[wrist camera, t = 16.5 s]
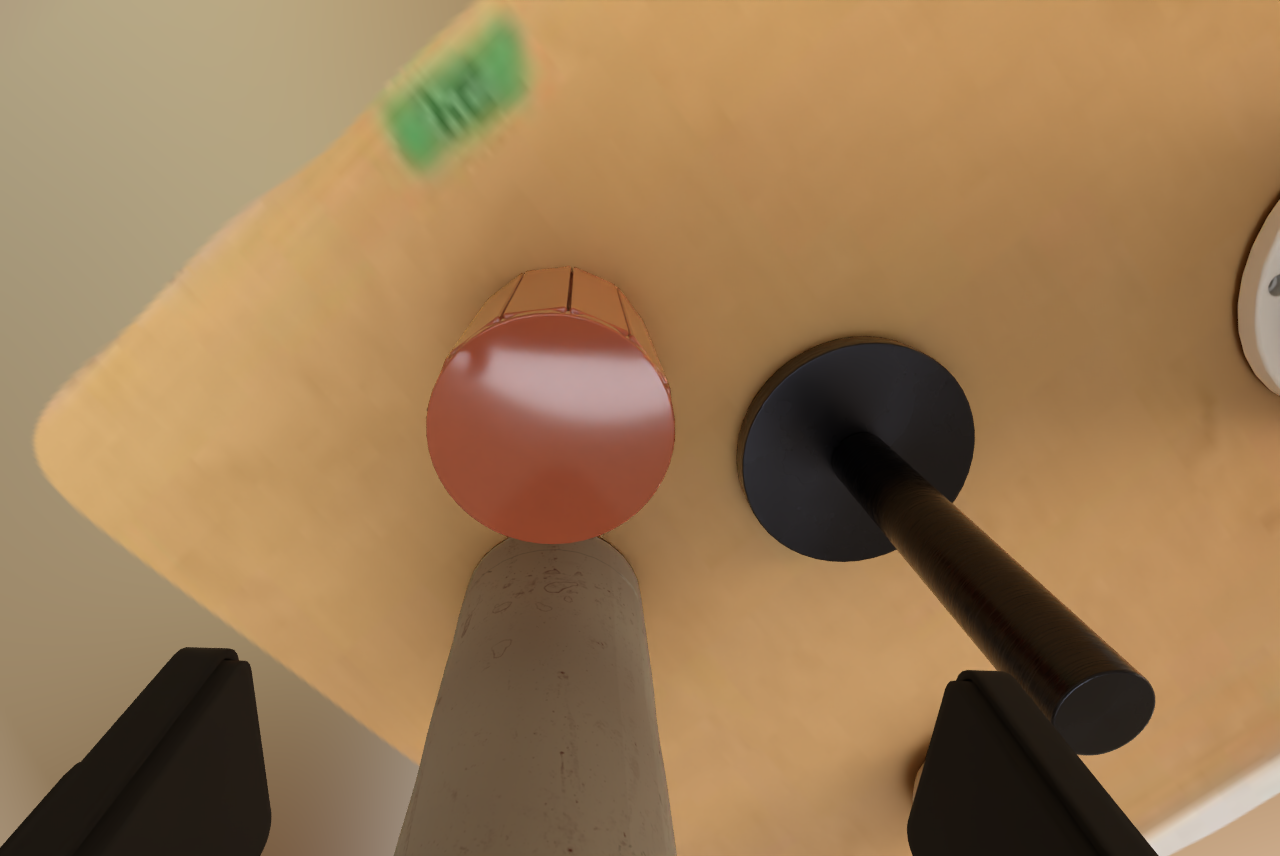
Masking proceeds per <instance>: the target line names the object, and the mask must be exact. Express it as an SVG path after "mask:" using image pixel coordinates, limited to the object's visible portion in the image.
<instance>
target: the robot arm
mask: <svg viewBox="0 0 1280 856" xmlns="http://www.w3.org/2000/svg"><path fill="white" fill-rule="evenodd" d="M1238 332H1239V335H1240V339H1241V343H1242V347H1243V351H1244V355H1245V357H1246V359H1247V360H1248V362H1249V364H1250V366H1251V368H1252V370H1253V372H1254V373H1255V375H1256V376H1257V377H1258V378H1259V379H1260V380H1261V381H1262V382H1263V383H1264V384H1265V385H1266V386H1267V388H1268V389H1269V390H1271V391H1272V392H1274V393H1276V394H1277V395H1279V396H1280V199H1279V201H1278V202H1277V204H1276V205H1275V207H1274V208H1273V209H1272V211H1271V212H1270V214H1269V215H1268V217H1267V218H1266V220H1265V222H1264V224H1263V226H1262V228H1261V230H1260V232H1259V234H1258V236H1257V238H1256V240H1255V242H1254V244H1253V246H1252V248H1251V251H1250V254H1249V257H1248V260H1247V263H1246V266H1245V269H1244V272H1243V275H1242V280H1241V287H1240V293H1239V300H1238ZM270 826H271V808H270V801H269V794H268V786H267V779H266V772H265V765H264V757H263V750H262V744H261V736H260V728H259V721H258V714H257V707H256V700H255V692H254V685H253V678H252V671H251V667H250V664H249V663H248V662H247V661H239V659H238V655H237V653H236V652H235V651H234V650H233V649H227V648H226V649H225V648H193V647H192V648H191V647H186V648H183V649H180V650H179V651H178V652H177V653H176V654H175V655H174V656H173V657H172V658H171V659H170V660H169V661H168V662H167V664H166V665H165V666H164V667H163V668H162V669H161V670H160V672H159V673H158V674H157V675H156V676H155V678H154V679H153V680H152V681H151V682H150V683H149V684H148V685H147V687H146V688H145V689H144V690H143V691H142V692H141V693H140V695H139V696H138V697H137V698H136V699H135V700H134V702H133V703H132V704H131V705H130V706H129V707H128V708H127V710H126V711H125V712H124V713H123V714H122V715H121V716H120V718H119V719H118V720H117V721H116V722H115V723H114V725H113V726H112V727H111V728H110V729H109V730H108V731H107V733H106V734H105V735H104V736H103V737H102V738H101V739H100V741H99V742H98V743H97V744H96V745H95V746H94V747H93V749H92V750H91V751H90V752H89V753H88V754H87V756H86V757H85V758H84V759H83V760H82V761H81V762H79V763H77V764H76V765H75V766H74V767H73V768H72V769H70V770H69V771H68V772H67V773H66V774H65V775H64V776H63V777H62V778H61V779H60V780H59V782H58V783H57V784H56V785H55V786H54V787H53V788H52V789H51V791H50V792H49V793H48V794H47V795H46V796H45V797H44V799H43V800H42V801H41V802H40V803H39V804H38V805H37V807H36V808H35V809H34V810H33V811H32V812H31V813H30V815H29V816H28V817H27V818H26V819H25V820H24V821H23V822H22V824H21V825H20V826H19V827H18V828H17V829H16V830H15V832H14V833H13V834H12V835H11V836H10V837H9V838H8V839H7V841H6V842H5V843H4V844H3V845H2V846H1V848H0V856H260V855H261V853H262V851H263V849H264V847H265V844H266V842H267V839H268V835H269V831H270ZM907 835H908V842H909V846H910V849H911V852H912V855H913V856H1158V855H1157V853H1156V852H1155V851H1154V850H1153V848H1152V847H1151V846H1150V845H1149V843H1148V842H1147V841H1146V840H1145V838H1144V837H1143V836H1142V835H1141V834H1140V832H1139V831H1138V830H1137V829H1136V827H1135V826H1134V825H1133V824H1132V822H1131V821H1130V820H1129V819H1128V817H1127V816H1126V815H1125V814H1124V813H1123V811H1122V810H1121V809H1120V808H1119V806H1118V805H1117V804H1116V803H1115V801H1114V800H1113V799H1112V798H1111V796H1110V795H1109V794H1108V793H1107V792H1106V790H1105V789H1104V788H1103V787H1102V785H1101V784H1100V783H1099V782H1098V780H1097V779H1096V778H1095V777H1094V775H1093V774H1092V773H1091V772H1090V770H1089V769H1088V768H1087V767H1086V766H1085V764H1084V763H1083V762H1082V761H1081V759H1080V758H1079V757H1078V756H1077V754H1076V753H1075V752H1074V751H1073V749H1072V748H1071V747H1070V746H1069V745H1068V743H1067V742H1066V741H1065V740H1064V738H1063V737H1062V736H1061V735H1060V733H1059V732H1058V731H1057V730H1056V728H1055V727H1054V726H1053V725H1052V724H1051V722H1050V721H1049V720H1048V719H1047V717H1046V716H1045V715H1044V714H1043V712H1042V711H1041V710H1040V709H1039V707H1038V706H1037V705H1036V704H1035V703H1034V701H1033V700H1032V699H1031V698H1030V696H1029V695H1028V694H1027V693H1026V691H1025V690H1024V689H1023V688H1022V686H1021V685H1020V684H1019V683H1018V682H1017V680H1016V679H1015V678H1014V677H1013V676H1012V675H1011V674H1009V673H1007V672H1004V671H975V670H966V671H962V672H961V673H960V674H959V675H958V678H957V680H956V681H950V682H949V683H948V684H947V686H946V689H945V692H944V696H943V699H942V703H941V706H940V710H939V713H938V717H937V720H936V724H935V727H934V731H933V734H932V738H931V741H930V745H929V749H928V752H927V756H926V759H925V763H924V766H923V770H922V773H921V777H920V780H919V784H918V787H917V791H916V794H915V798H914V801H913V805H912V808H911V812H910V816H909V819H908V824H907Z"/></svg>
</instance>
